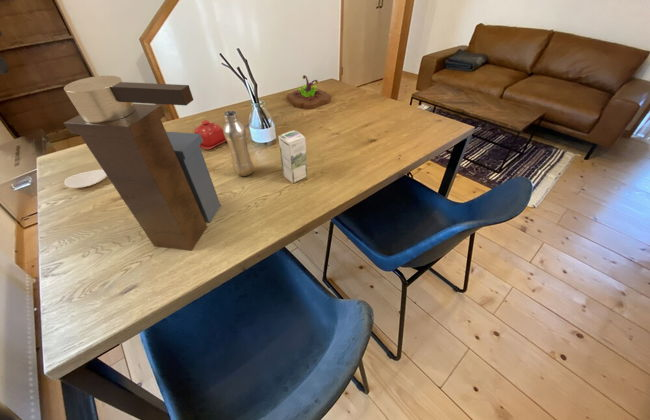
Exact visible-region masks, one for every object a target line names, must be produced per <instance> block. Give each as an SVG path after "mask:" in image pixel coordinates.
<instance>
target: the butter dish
mask: <svg viewBox="0 0 650 420" xmlns="http://www.w3.org/2000/svg"><path fill="white" fill-rule="evenodd" d="M193 131H194V132H193V133H196V134H201V137H202V140H203V142H202V143H201V144H200V145H199V146H200V148H201V149H204V150H212V149H213V148H215V147H217V146H219V145H221V144H223V143H225V142H227V141H226V138H225V136H224V133H223V127H221V125H218V124H217V123H215V122H212V121H211V122H210V121H209V120H208V119H205V120H203V121H202V122H201V124H200V125H198V126H197V127H195V129H194V130H193Z"/></svg>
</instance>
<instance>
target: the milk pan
mask: <svg viewBox="0 0 650 420" xmlns="http://www.w3.org/2000/svg"><path fill="white" fill-rule="evenodd" d="M63 90H64V92H65V93H66V95H67V96H68V98H69V100H70V102H71V103H72V104H73V106H74V107H75V109H76V111H77V112H78V115H80V116H81V117H82V119H83V120H84V121H85V122H89V123H104V122H110V121H115V120H118V119H121V118H124V117H126V116H128V115H130V114H132V113H133V112H134V111H135V106H134V104H148V105H170V106H188V105H189V104H190V103H192V102H193V101H194V97H193V94H192V91H191V87H190V85H189V84H175V83H174V84H172V83H151V82H149V83H148V82H131V81H130V82H129V81H125V82H124V81H123V79H122V78H121V77H120V76H117V75H97V76H96V75H95V76H89V77H85V78H80V79H77V80H74V81H71V82H70V83H68V84H66V85H65V86H64V87H63Z"/></svg>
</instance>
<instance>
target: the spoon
mask: <svg viewBox="0 0 650 420" xmlns="http://www.w3.org/2000/svg"><path fill="white" fill-rule="evenodd" d="M106 178H108V176H107V175H106V173H105V172H104V170H103V169H102V168H100V169H93V170H89V171H84V172H80V173H77V174H73V175H70V176H68V177H66V178H65V180H64V181H63V184H64V186H65V187H66V188H70V189H80V188H81V189H83V188H86V187H87V188H88V187H90V186H94V185H97V184H98V183H100V182H102V181H103V180H105V179H106Z"/></svg>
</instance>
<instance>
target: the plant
mask: <svg viewBox="0 0 650 420" xmlns="http://www.w3.org/2000/svg"><path fill="white" fill-rule="evenodd" d="M302 79H303V80H305V82H306V84H303V86H300V87H297V89H295V90H293V91H292V92H290V93H287V94H286V100H287V101H288V102H289V103H290V104H292V105H293V107H297V108H298V109H305V110H313V109H315V108H319V107H320V106H324V105H327V104H329V103H330V102H331V100H332V94H329V93H328V92H327V91H324V90H322V89H320V88H317V87H318V86H317V85H314V83H315V84H319V80H317V79H314V80H311V82H310V81H309V79H308V77H307V75H304V74H303V75H302Z"/></svg>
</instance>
